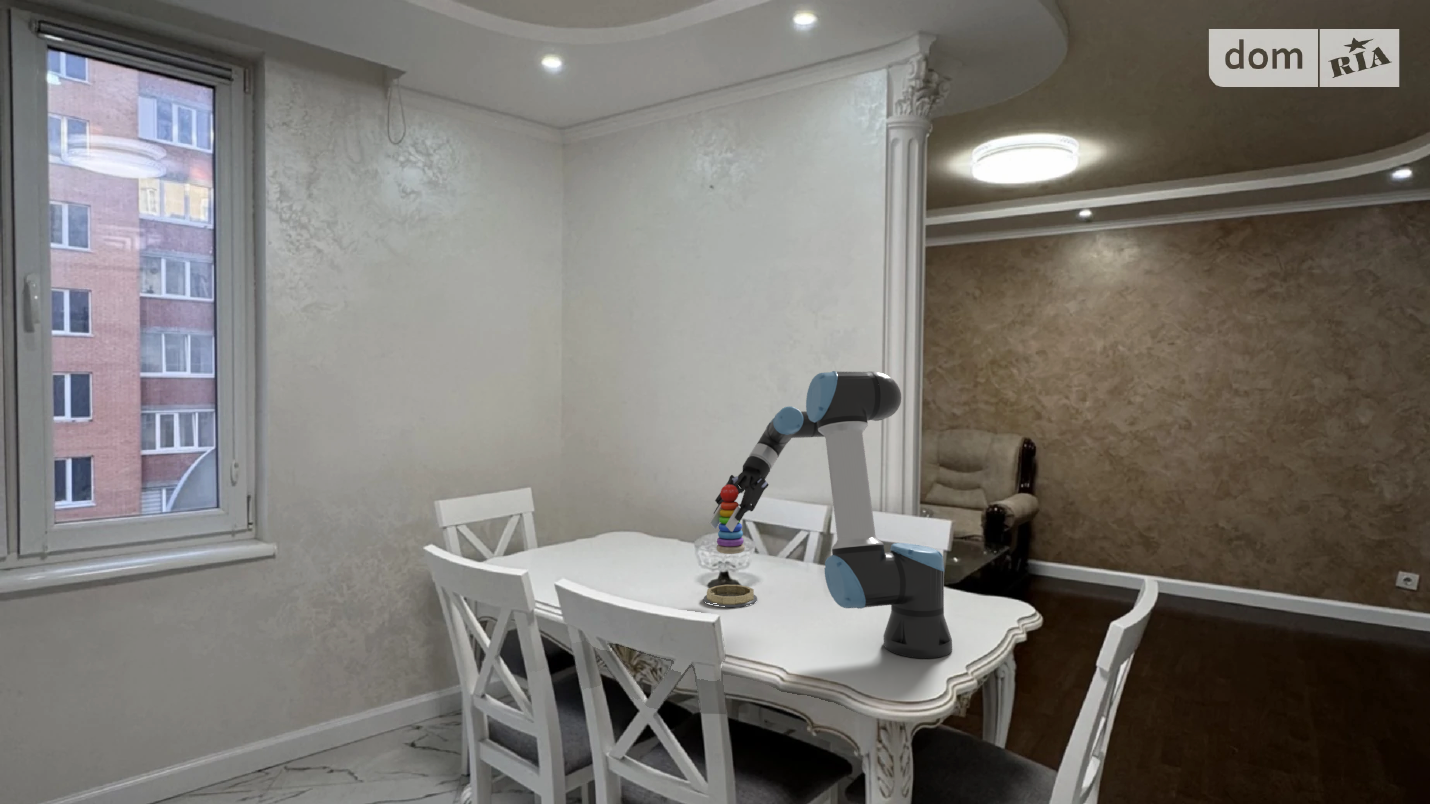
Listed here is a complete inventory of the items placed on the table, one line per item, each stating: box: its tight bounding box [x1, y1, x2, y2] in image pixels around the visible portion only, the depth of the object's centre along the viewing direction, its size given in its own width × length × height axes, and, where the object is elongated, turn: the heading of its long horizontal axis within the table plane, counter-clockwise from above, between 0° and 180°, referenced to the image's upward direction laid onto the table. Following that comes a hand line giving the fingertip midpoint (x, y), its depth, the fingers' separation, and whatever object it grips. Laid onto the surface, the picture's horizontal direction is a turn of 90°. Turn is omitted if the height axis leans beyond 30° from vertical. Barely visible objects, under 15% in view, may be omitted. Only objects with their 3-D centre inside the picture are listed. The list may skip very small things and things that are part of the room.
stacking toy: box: [715, 484, 746, 555], centre depth 212 cm, size 8×8×19 cm
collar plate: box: [703, 584, 758, 608], centre depth 213 cm, size 15×15×3 cm
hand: (720, 526), depth 210 cm, fingers closed on stacking toy, 6 cm apart
